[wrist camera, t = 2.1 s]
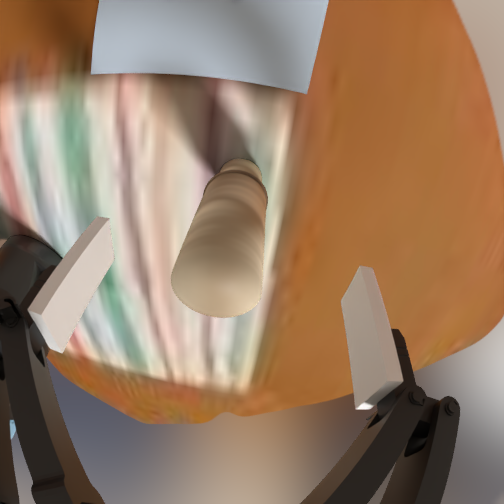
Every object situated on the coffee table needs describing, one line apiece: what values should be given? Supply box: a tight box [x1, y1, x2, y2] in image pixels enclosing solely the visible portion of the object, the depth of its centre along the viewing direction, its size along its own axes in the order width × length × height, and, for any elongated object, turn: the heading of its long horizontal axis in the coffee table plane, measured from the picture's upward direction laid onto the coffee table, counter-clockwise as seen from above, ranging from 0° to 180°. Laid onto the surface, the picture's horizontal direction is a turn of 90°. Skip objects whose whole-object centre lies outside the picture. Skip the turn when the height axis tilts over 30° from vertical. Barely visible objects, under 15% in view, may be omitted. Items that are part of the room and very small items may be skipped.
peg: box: [171, 159, 268, 318], centre depth 18 cm, size 4×4×12 cm
